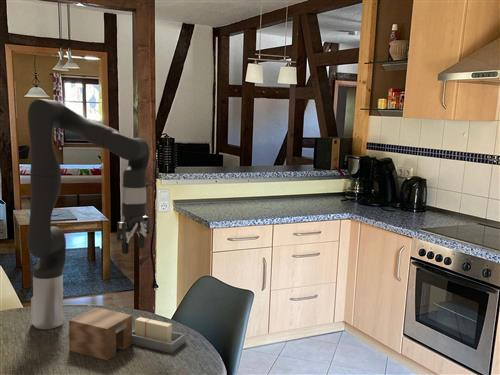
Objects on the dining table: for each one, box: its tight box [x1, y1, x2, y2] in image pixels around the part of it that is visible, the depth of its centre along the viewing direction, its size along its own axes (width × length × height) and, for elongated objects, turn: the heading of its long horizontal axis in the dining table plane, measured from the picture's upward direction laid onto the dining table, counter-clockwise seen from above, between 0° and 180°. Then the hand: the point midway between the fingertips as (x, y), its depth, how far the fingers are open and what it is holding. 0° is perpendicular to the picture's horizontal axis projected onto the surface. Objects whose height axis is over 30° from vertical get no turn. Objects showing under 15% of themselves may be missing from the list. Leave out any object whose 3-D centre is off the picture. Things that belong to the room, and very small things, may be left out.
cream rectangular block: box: [134, 316, 173, 343], centre depth 155 cm, size 12×3×6 cm, turn 68°
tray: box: [131, 329, 186, 354], centre depth 155 cm, size 16×8×3 cm, turn 68°
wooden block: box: [68, 306, 133, 361], centre depth 149 cm, size 15×12×10 cm
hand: (133, 250), depth 157 cm, fingers open, 8 cm apart
